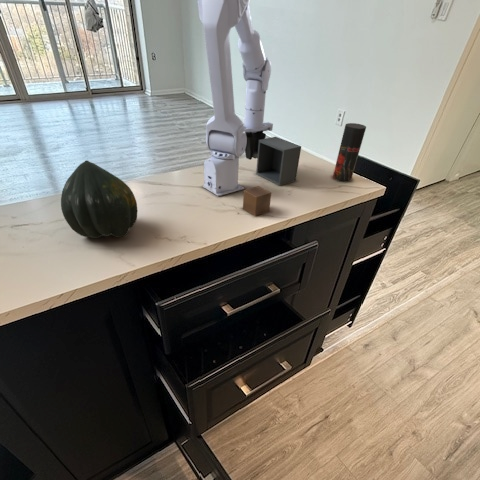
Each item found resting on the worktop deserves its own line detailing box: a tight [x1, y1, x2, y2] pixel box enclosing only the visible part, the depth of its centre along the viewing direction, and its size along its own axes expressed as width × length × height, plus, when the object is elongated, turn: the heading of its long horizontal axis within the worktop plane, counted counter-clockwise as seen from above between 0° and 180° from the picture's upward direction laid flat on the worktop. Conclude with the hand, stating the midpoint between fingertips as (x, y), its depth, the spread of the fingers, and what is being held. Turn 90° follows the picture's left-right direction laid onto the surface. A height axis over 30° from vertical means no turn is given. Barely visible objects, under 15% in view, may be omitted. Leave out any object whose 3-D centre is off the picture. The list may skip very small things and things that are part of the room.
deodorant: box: [332, 122, 367, 183], centre depth 98 cm, size 6×6×15 cm
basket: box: [252, 136, 302, 186], centre depth 99 cm, size 10×17×7 cm
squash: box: [60, 159, 139, 239], centre depth 68 cm, size 14×15×15 cm
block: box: [242, 185, 272, 217], centre depth 82 cm, size 5×5×5 cm
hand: (251, 158), depth 103 cm, fingers closed on basket, 2 cm apart
